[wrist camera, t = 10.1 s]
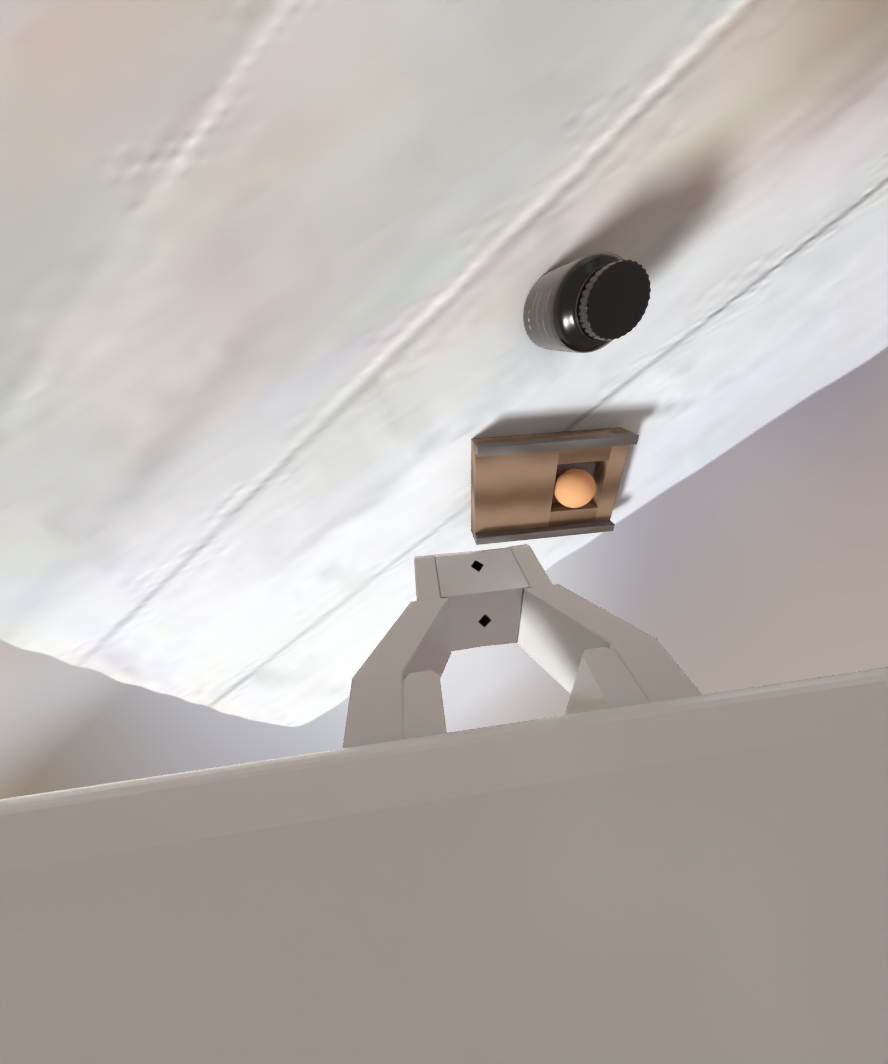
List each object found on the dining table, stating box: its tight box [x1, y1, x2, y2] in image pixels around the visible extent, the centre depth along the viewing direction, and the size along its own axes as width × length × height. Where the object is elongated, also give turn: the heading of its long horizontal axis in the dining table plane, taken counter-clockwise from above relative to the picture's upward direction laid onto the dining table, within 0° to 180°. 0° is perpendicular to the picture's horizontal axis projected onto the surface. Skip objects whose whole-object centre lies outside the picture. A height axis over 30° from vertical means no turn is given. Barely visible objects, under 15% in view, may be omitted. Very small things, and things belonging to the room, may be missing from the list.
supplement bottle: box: [523, 252, 651, 353], centre depth 28 cm, size 7×7×12 cm
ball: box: [554, 469, 596, 508], centre depth 42 cm, size 5×5×5 cm
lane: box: [471, 428, 639, 545], centre depth 42 cm, size 13×19×4 cm
